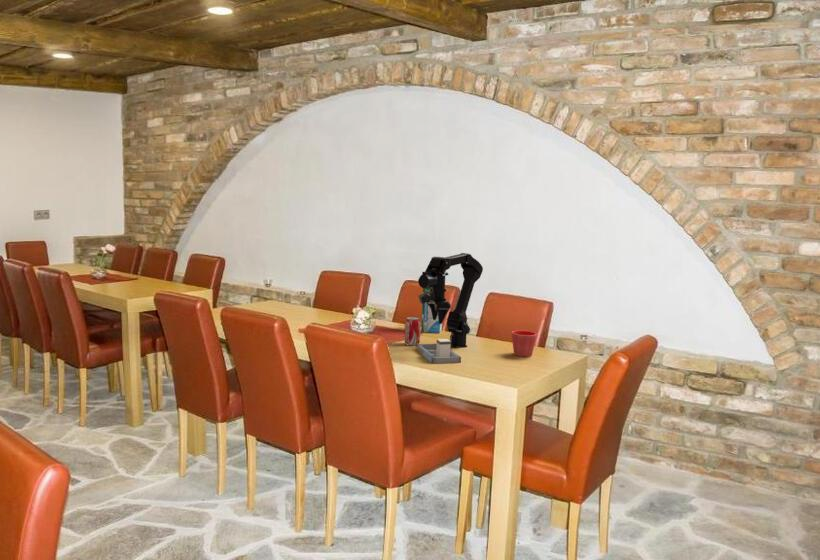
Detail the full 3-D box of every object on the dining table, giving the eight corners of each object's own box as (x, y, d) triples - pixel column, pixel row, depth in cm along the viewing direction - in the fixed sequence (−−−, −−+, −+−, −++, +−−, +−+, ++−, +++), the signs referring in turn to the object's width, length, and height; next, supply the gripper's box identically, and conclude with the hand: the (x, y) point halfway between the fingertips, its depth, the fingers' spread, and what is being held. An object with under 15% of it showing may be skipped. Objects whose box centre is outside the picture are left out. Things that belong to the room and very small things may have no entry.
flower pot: (538, 353, 305) (539, 331, 304) (531, 358, 295) (532, 336, 294) (514, 350, 309) (515, 329, 308) (507, 355, 299) (508, 333, 298)
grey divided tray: (442, 348, 310) (442, 341, 309) (460, 362, 285) (461, 354, 284) (415, 349, 307) (415, 341, 306) (431, 363, 282) (431, 355, 281)
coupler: (446, 357, 293) (447, 338, 292) (450, 360, 288) (450, 341, 287) (436, 357, 292) (436, 339, 291) (439, 360, 287) (439, 341, 286)
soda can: (418, 346, 313) (419, 319, 311) (403, 345, 314) (403, 319, 312) (421, 343, 319) (422, 317, 318) (406, 342, 321) (406, 316, 319)
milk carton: (421, 332, 344) (422, 282, 341) (424, 328, 353) (425, 279, 350) (439, 333, 343) (441, 282, 340) (441, 330, 352) (443, 280, 349)
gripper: (414, 283, 307) (413, 318, 309) (426, 289, 289) (424, 326, 291) (439, 283, 310) (438, 317, 312) (451, 289, 292) (450, 325, 294)
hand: (437, 321), depth 302 cm, fingers open, 9 cm apart
